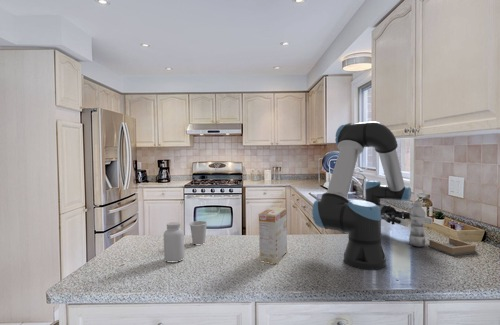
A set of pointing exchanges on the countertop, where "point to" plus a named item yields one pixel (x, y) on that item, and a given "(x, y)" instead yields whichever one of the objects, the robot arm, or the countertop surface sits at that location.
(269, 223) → the coffeecake box
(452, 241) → the tray
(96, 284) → the countertop surface
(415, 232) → the silver metal bottle
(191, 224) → the dixie cup
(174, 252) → the pill bottle
